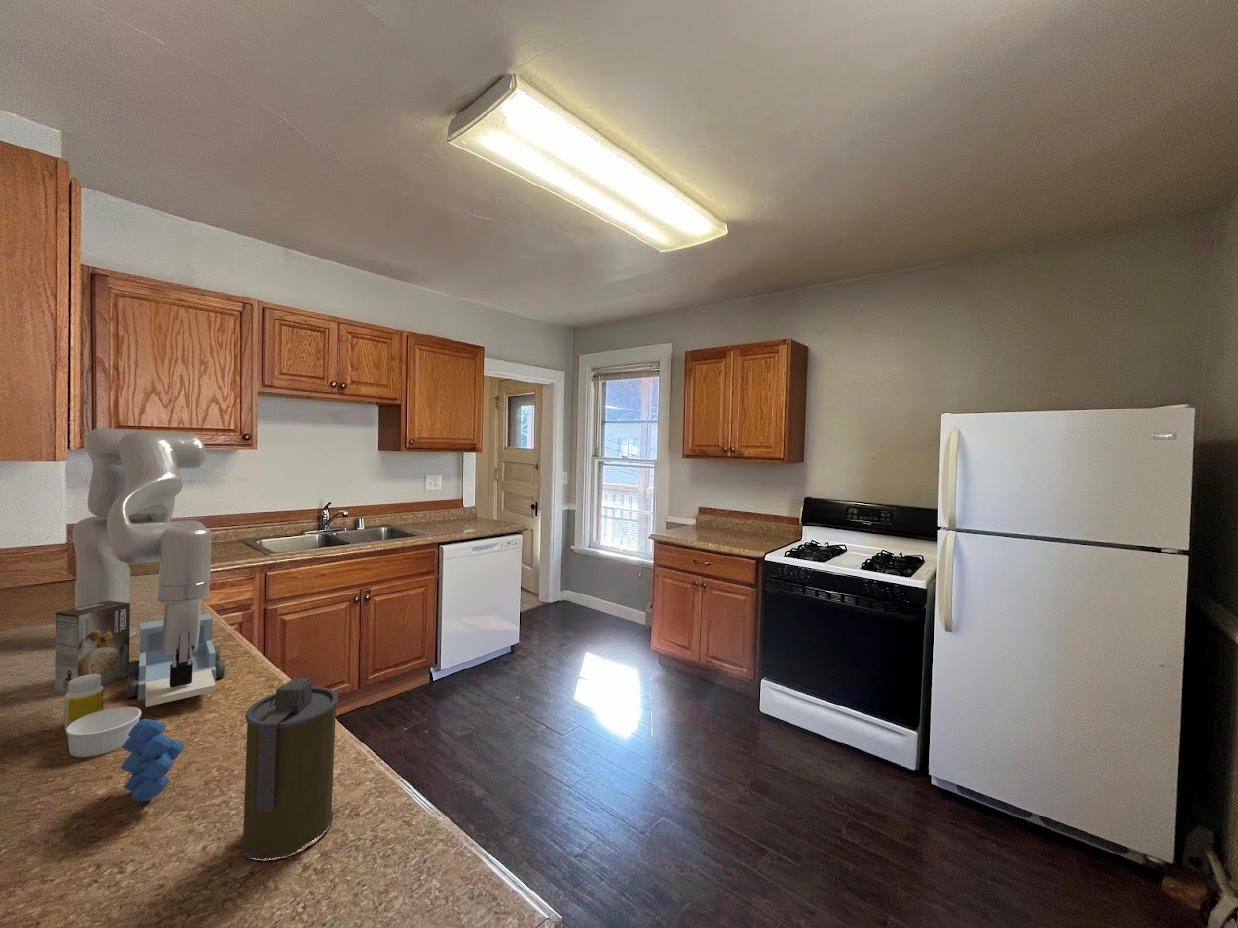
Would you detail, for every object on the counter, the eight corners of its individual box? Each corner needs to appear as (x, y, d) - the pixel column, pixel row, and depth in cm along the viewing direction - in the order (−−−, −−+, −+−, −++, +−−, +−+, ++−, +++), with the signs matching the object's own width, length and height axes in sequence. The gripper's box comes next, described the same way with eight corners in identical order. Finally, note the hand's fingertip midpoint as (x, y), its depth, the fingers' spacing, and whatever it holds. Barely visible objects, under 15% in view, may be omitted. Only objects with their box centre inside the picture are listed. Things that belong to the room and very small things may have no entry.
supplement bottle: (108, 721, 91) (110, 675, 91) (73, 734, 86) (74, 686, 86) (93, 715, 92) (94, 671, 92) (57, 728, 88) (59, 681, 88)
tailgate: (144, 681, 99) (144, 700, 91) (211, 668, 106) (217, 684, 98) (144, 688, 99) (143, 708, 91) (211, 674, 106) (216, 691, 98)
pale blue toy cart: (128, 674, 109) (130, 624, 109) (217, 657, 119) (219, 611, 119) (126, 702, 97) (128, 647, 97) (225, 681, 108) (226, 630, 108)
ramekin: (150, 739, 86) (151, 714, 86) (79, 766, 78) (79, 739, 78) (126, 725, 90) (126, 701, 90) (55, 750, 82) (55, 724, 82)
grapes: (199, 799, 72) (203, 717, 72) (137, 827, 66) (140, 739, 66) (168, 770, 78) (171, 694, 78) (108, 793, 72) (111, 712, 72)
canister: (272, 804, 72) (277, 667, 72) (346, 803, 73) (352, 668, 72) (217, 866, 61) (224, 705, 61) (306, 864, 62) (312, 705, 62)
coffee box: (107, 671, 110) (109, 599, 110) (129, 675, 108) (132, 602, 108) (52, 690, 101) (55, 611, 101) (76, 694, 99) (79, 615, 99)
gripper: (157, 584, 99) (153, 675, 99) (158, 603, 88) (154, 705, 89) (206, 579, 104) (202, 665, 105) (213, 597, 93) (209, 693, 94)
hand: (180, 683), depth 97 cm, fingers closed
